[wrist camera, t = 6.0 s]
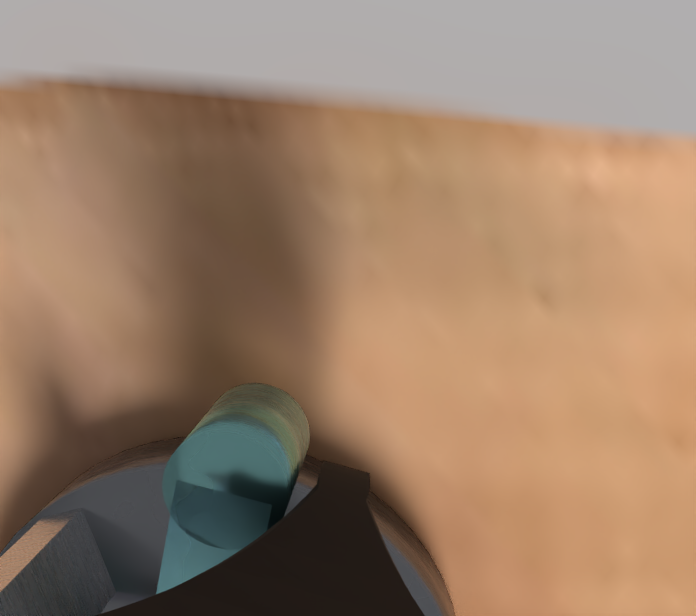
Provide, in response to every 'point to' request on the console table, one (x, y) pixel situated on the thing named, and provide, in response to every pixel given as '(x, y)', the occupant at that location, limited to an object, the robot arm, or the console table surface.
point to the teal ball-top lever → (231, 478)
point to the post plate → (148, 541)
